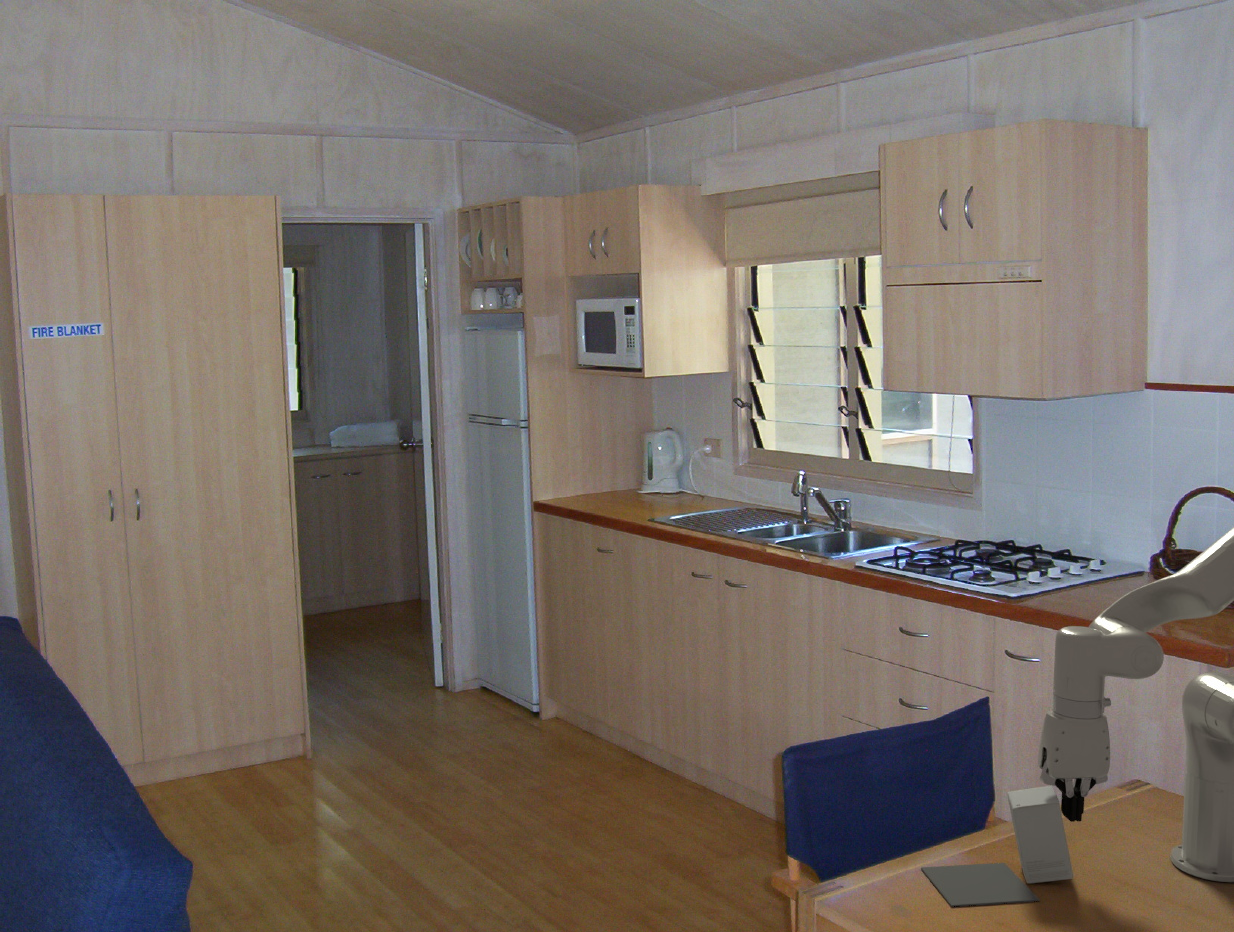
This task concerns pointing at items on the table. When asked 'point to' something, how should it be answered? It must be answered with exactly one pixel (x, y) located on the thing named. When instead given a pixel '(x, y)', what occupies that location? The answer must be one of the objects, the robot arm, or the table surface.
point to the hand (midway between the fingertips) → (1071, 818)
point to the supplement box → (1040, 834)
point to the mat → (979, 884)
